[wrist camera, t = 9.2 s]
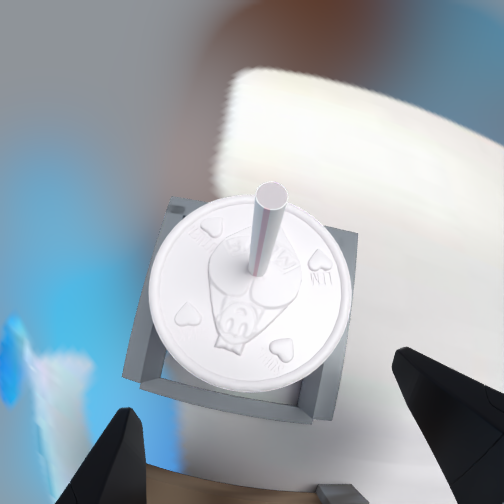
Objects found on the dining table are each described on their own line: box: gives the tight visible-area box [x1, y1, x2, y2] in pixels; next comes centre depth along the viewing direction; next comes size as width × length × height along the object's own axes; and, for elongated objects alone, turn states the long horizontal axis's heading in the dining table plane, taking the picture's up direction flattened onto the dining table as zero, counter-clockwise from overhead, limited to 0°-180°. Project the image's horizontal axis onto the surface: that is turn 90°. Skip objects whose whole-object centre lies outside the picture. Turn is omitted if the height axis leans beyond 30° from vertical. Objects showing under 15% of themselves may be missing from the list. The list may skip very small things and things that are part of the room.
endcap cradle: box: [122, 196, 358, 424], centre depth 16 cm, size 11×10×4 cm
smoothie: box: [149, 181, 352, 392], centre depth 11 cm, size 6×6×14 cm
